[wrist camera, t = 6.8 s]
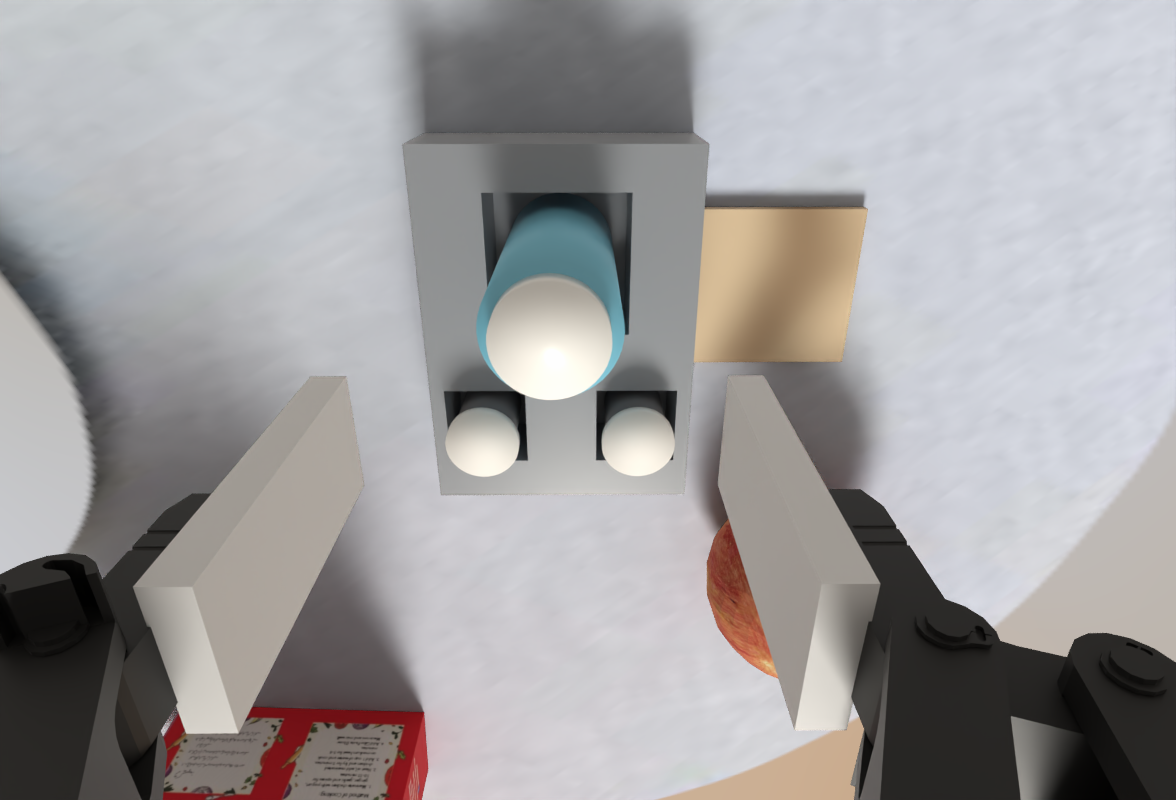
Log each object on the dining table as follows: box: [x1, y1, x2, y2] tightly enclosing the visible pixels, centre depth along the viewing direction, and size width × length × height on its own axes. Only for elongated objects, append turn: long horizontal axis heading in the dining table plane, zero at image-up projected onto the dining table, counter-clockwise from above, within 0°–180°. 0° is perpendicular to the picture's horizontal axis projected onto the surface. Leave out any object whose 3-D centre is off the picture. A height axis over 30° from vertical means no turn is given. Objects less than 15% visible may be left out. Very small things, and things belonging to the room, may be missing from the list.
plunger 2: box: [602, 391, 675, 476], centre depth 31 cm, size 3×3×4 cm
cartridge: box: [476, 193, 625, 400], centre depth 25 cm, size 4×4×12 cm
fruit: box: [707, 519, 778, 678], centre depth 33 cm, size 9×10×10 cm
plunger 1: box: [445, 391, 522, 477], centre depth 31 cm, size 3×3×4 cm
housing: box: [402, 133, 709, 495], centre depth 30 cm, size 11×15×4 cm
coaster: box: [694, 207, 868, 362], centre depth 32 cm, size 7×7×1 cm
